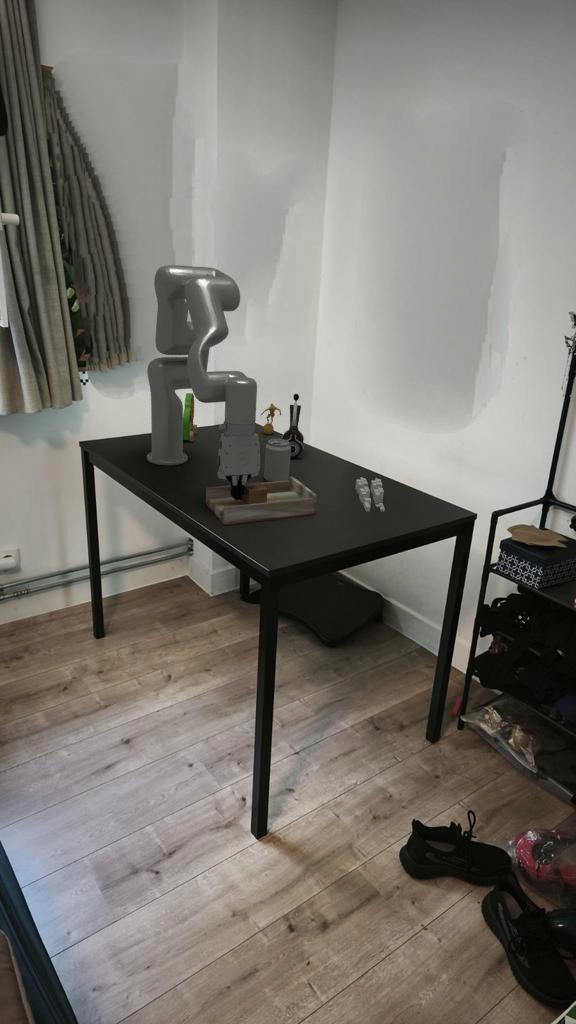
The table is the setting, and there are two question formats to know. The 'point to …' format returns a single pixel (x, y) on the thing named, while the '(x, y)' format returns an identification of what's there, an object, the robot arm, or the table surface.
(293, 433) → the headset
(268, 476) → the can
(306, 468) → the table surface
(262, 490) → the walnut block
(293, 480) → the trap box
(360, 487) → the modular blocks
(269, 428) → the figurine
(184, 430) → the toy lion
